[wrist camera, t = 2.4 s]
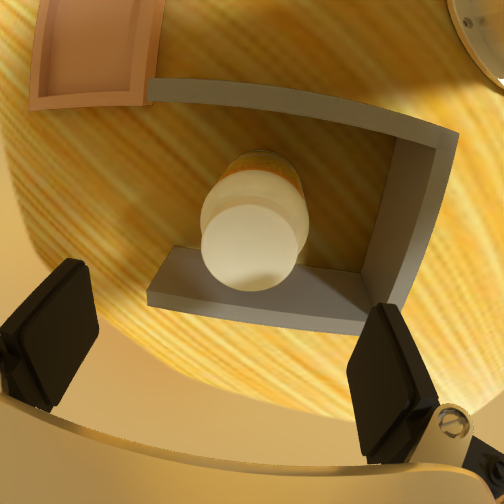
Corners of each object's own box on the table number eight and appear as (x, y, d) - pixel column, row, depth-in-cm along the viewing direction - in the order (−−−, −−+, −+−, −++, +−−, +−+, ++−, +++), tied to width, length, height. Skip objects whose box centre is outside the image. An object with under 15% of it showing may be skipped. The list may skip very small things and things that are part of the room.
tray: (60, -26, 14) (47, -30, 12) (175, -49, 14) (167, -58, 12) (42, 108, 19) (29, 111, 18) (152, 104, 19) (142, 105, 18)
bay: (183, 81, 18) (148, 77, 13) (416, 120, 18) (459, 133, 13) (173, 259, 25) (147, 305, 19) (369, 287, 25) (388, 338, 19)
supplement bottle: (309, 213, 22) (326, 292, 14) (236, 231, 23) (211, 315, 15) (289, 138, 20) (297, 172, 11) (211, 160, 21) (164, 210, 12)
